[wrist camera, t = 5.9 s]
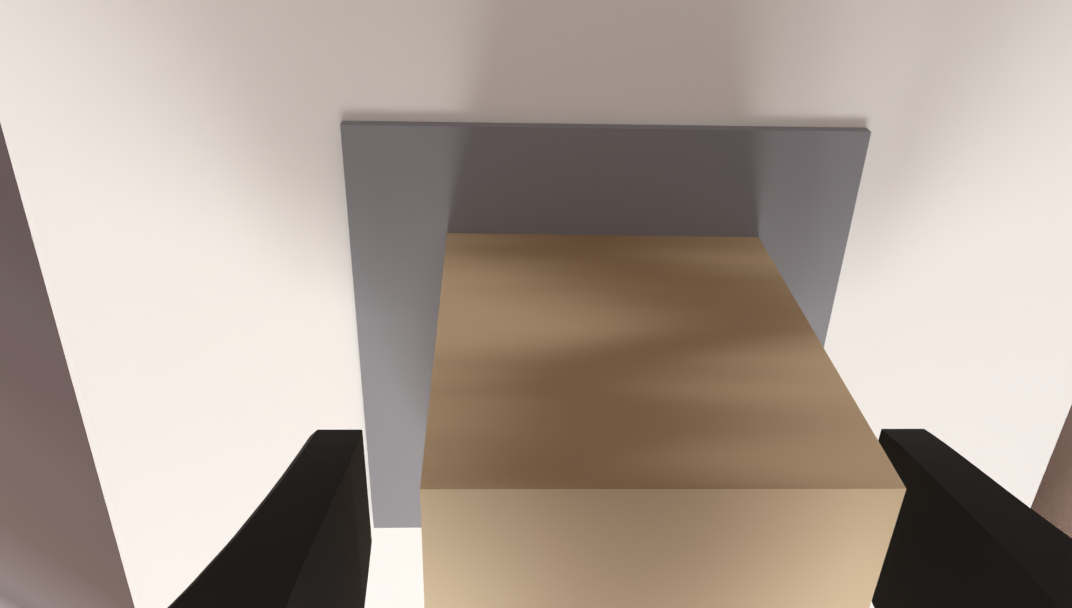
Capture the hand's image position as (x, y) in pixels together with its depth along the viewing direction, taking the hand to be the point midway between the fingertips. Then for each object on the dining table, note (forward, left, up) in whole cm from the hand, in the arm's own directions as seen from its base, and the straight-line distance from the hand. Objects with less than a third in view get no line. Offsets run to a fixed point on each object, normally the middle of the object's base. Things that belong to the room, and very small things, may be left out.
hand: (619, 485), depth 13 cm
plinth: (0, 0, -6) cm, 6 cm away
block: (0, 0, -3) cm, 3 cm away
